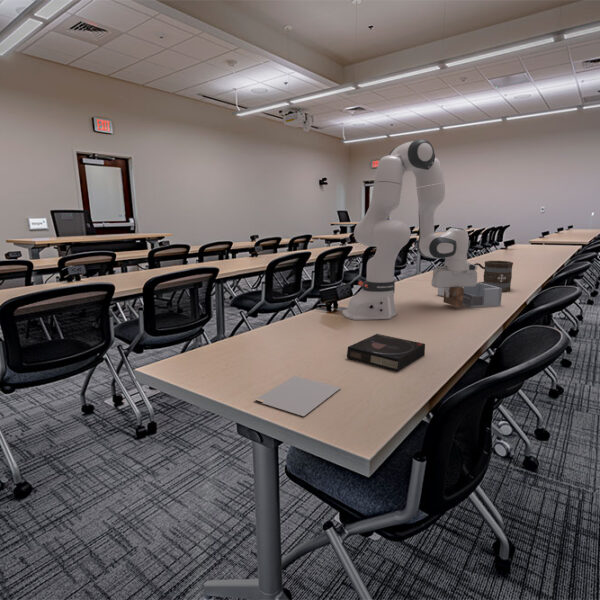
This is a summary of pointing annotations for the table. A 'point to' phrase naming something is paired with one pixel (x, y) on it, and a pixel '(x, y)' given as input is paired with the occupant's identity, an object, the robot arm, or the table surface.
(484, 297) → the cabinet
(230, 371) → the table surface
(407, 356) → the portable cd player
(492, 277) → the mug
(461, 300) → the brown rectangular block
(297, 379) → the paper stack
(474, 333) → the table surface
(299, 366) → the table surface
